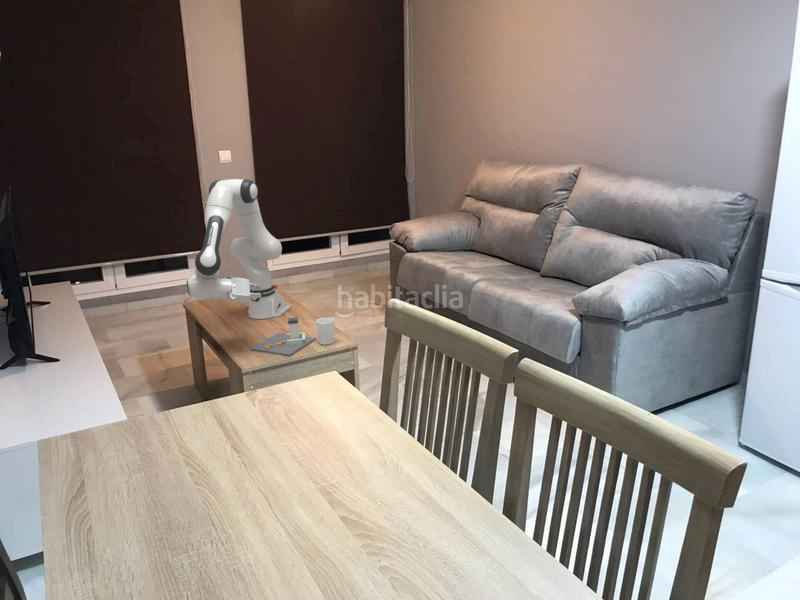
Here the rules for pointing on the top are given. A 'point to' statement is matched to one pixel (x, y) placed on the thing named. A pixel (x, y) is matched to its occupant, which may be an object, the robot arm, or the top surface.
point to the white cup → (325, 330)
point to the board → (280, 345)
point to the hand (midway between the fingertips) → (260, 291)
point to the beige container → (293, 328)
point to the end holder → (296, 341)
